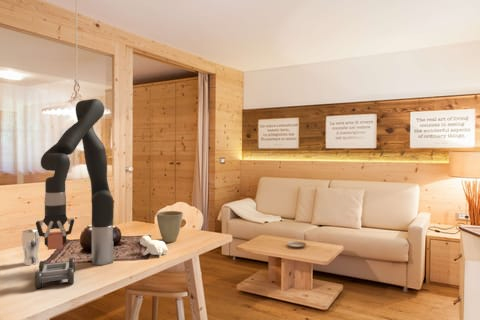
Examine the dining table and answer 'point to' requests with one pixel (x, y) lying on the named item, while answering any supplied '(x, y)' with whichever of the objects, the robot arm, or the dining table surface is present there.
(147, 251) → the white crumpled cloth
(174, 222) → the plant pot
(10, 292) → the dining table surface
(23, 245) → the beer glass
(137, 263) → the dining table surface
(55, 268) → the chassis
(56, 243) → the terracotta rectangular box
